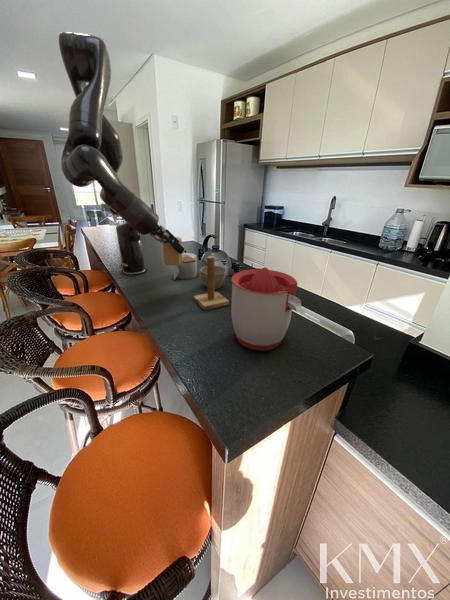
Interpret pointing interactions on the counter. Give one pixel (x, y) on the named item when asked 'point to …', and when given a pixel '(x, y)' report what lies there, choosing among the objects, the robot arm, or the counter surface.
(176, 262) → the cap
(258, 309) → the citrus juicer
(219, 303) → the paper towel holder
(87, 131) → the robot arm
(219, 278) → the beige bowl
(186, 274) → the toilet tissue
